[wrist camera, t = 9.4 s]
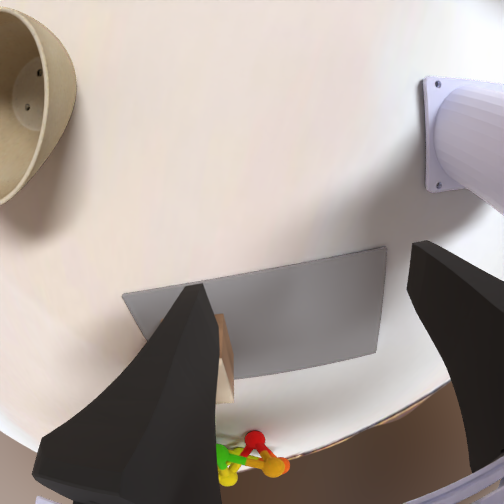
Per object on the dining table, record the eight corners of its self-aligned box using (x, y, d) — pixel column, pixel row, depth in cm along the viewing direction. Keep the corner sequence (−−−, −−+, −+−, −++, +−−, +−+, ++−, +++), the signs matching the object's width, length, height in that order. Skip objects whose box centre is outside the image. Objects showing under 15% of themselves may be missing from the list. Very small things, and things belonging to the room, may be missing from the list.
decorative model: (290, 472, 37) (192, 498, 34) (270, 423, 43) (177, 448, 40) (301, 468, 27) (169, 501, 24) (274, 402, 33) (150, 433, 30)
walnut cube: (149, 368, 19) (161, 318, 24) (171, 404, 22) (178, 358, 26) (221, 365, 19) (223, 313, 23) (233, 402, 22) (233, 354, 26)
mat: (385, 246, 21) (386, 248, 21) (374, 350, 28) (375, 352, 27) (122, 293, 23) (121, 296, 22) (175, 382, 29) (175, 385, 29)
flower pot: (95, 178, 18) (37, 232, 12) (-12, 151, 16) (-76, 190, 9) (134, 23, 13) (75, 0, 7) (10, 19, 11) (-62, 19, 5)
